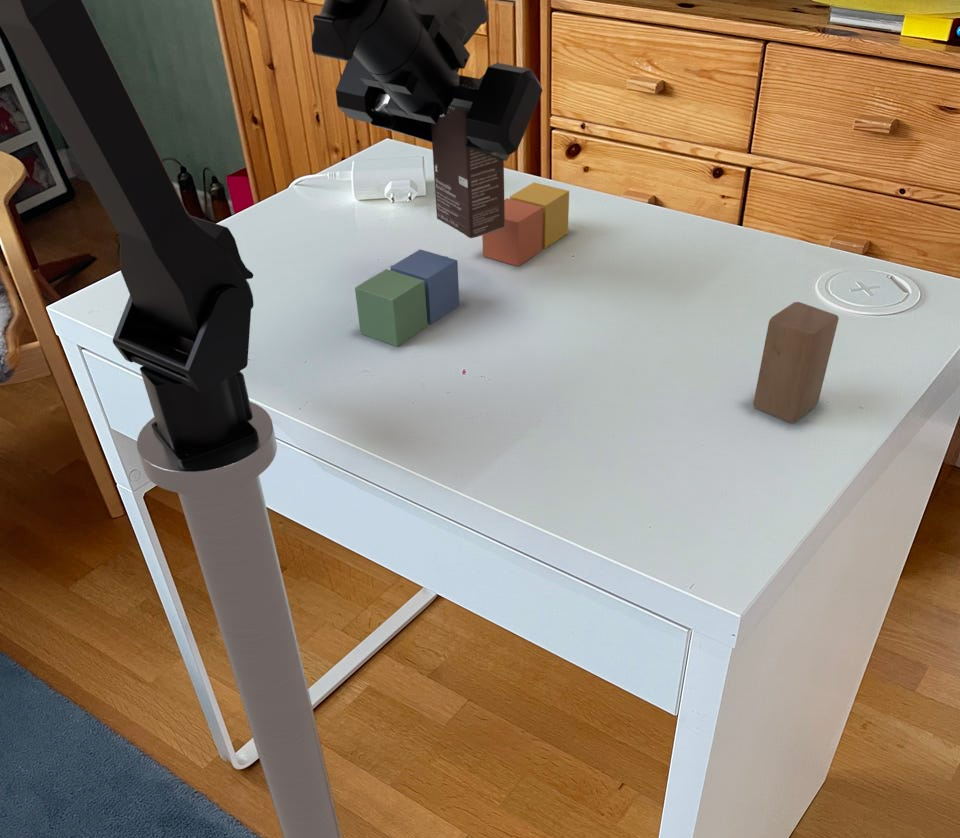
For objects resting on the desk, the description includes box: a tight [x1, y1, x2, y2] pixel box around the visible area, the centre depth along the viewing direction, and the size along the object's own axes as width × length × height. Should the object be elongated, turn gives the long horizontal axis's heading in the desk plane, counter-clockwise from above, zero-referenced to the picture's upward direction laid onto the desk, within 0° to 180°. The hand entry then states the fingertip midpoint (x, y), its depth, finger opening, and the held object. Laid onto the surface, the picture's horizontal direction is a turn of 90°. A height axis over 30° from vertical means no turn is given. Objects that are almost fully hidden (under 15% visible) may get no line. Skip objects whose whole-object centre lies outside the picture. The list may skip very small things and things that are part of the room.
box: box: [431, 106, 505, 239], centre depth 90 cm, size 6×4×12 cm
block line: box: [354, 181, 570, 347], centre depth 97 cm, size 29×4×4 cm, turn 144°
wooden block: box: [752, 301, 840, 424], centre depth 78 cm, size 4×4×8 cm
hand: (477, 148), depth 90 cm, fingers closed on box, 7 cm apart
